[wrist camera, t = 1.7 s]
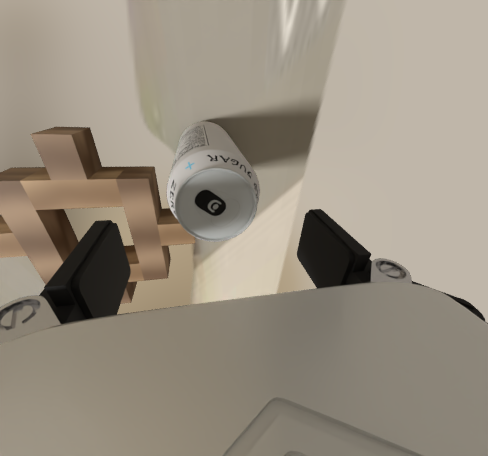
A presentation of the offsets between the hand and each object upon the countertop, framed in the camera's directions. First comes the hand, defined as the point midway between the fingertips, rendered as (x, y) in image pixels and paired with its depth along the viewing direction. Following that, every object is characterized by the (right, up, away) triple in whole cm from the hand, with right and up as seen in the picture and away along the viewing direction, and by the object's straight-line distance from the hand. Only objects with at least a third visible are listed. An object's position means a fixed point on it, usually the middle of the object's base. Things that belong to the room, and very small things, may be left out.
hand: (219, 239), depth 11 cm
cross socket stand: (-16, +1, +16) cm, 23 cm away
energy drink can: (-3, +10, +14) cm, 18 cm away
